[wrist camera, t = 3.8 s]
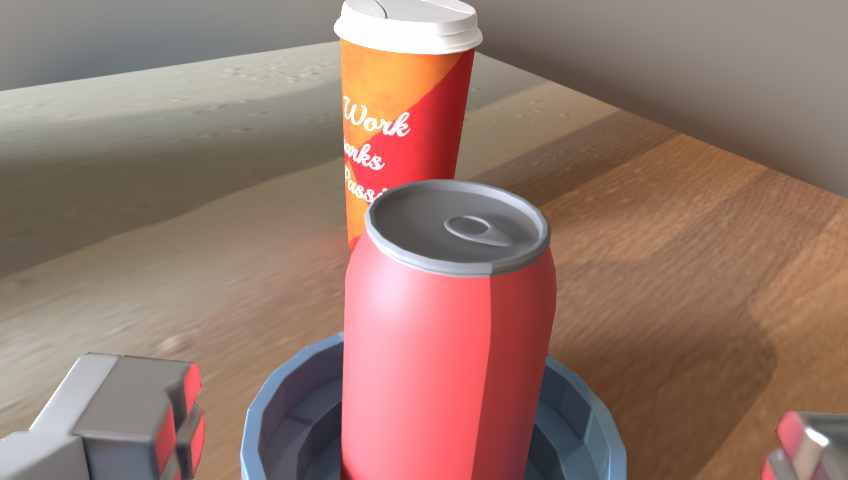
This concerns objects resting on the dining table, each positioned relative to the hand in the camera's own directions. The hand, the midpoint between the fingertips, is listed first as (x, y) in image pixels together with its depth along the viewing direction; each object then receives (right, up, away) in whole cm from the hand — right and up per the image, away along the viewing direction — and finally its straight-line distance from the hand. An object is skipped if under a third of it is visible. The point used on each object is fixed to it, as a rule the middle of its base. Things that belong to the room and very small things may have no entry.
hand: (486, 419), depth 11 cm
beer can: (-1, -7, +18) cm, 20 cm away
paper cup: (-3, +2, +36) cm, 36 cm away
